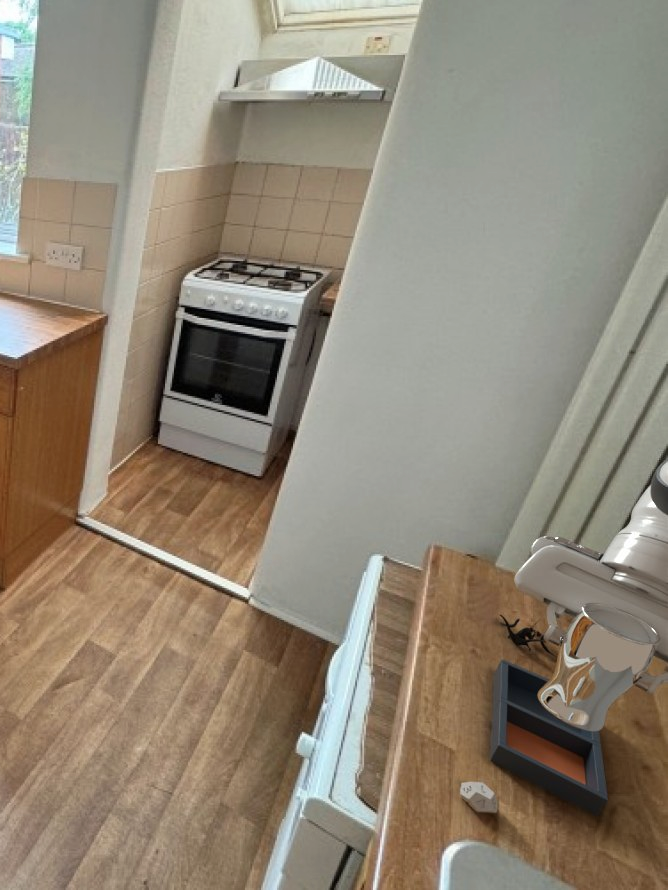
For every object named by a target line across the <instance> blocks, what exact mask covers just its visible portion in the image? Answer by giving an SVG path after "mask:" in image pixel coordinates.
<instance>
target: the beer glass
mask: <svg viewBox="0 0 668 890" xmlns="http://www.w3.org/2000/svg"><path fill="white" fill-rule="evenodd" d="M600 610H607V611H614V612H618V613H622V614H624V615H626V616H628V617H630V618H632V619H634V620H635V621H636V622H638V623H639V624H640V625H641V626H642V627H643V628H644V630H645V631H646V632H647V634H648V636H649V638H650V639H649V640H650V642H641V641H636V640H632V639H630V638H628V637H626V636H624V635H622V634H620V633H617V632H615V631H613V630H611V629H609V628H607V627H605V626H603V625H601V624H599V623H597V622H596V621H594V620H593V619H592V618H591V617H590V616H589V615H588V614H587V613H592V612H595V611H600ZM564 632H565V634H564V636H563V638H562V640H561V643H560V645H559V648H558V654H557V656H556V664H555V668H554V671H553V672H552V675H551V677H550V678H549V681H548V682H547V683H546V684H545V685H544V686H542V687H541V688H540V689H539V691H538V693H537V696H538V699H539V701H540V703H541V704H542V705H543V706H544V707H545V708H546V709H547V710H548V711H549V712H550V713H551V714H553V715H554V716H555V717H557V718H558V719H560V720H562V721H563V722H565V723H567V724H569V725H571V726H574V727H576V728H579V729H582V730H586V731H599V732H600V731H601V730H603V728H604V727H605V723H606V719H607V715H608V711H609V710H610V708H611V706H612V705H613V703H614V702H615V701H616V700H618V698H620V697H621V696H622V695H624V694H625V693H626V692H627V691H628V690H629V689H630V688H631V687H633V686H635V685H636V683H637V681H638V680H639V679H640V678H641V676H642V675H643V674H644V673H645V672H646V671H647V670H648V668H649V667H650V664H652V662H653V659H654V658H655V657H654V655H655V653H656V650H657V648H658V646H659V644H660V642H661V640H662V639H661V636H660V634H659V633H658V632H657V630H656V629H654V628H653V627H652V626H651V625H650V624H648V623H647V622H645V621H644V620H642V619H640V618H639V617H637V616H635V615H633V614H631V613H629V612H627V611H624V610H622V609H619V608H616V607H613V606H610V605H607V604H602V603H595V602H590V603H585V604H584V605H583V606H582V608H581V609H580V611H579V612H578V613H577V615H576V616H575V617H573V618H572V620H571V621H570V623H569V625H568V626H567V628H566V629H565V630H564Z"/></svg>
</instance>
